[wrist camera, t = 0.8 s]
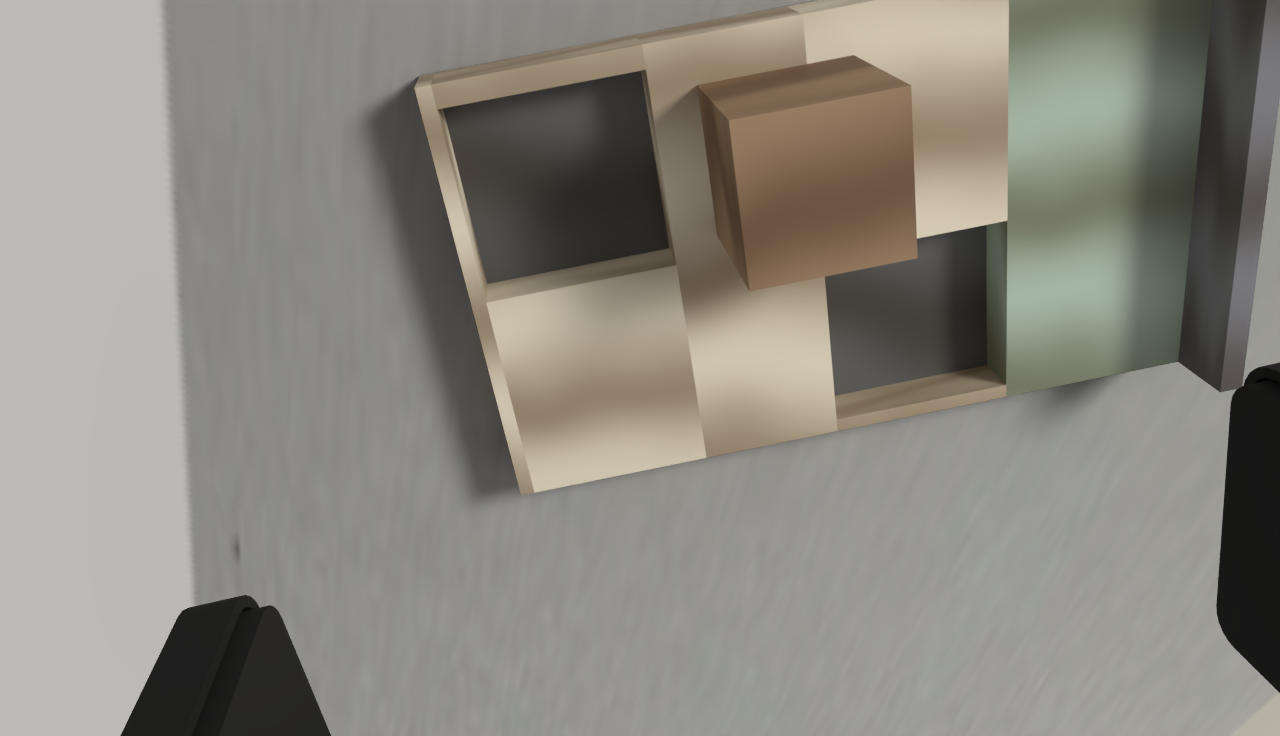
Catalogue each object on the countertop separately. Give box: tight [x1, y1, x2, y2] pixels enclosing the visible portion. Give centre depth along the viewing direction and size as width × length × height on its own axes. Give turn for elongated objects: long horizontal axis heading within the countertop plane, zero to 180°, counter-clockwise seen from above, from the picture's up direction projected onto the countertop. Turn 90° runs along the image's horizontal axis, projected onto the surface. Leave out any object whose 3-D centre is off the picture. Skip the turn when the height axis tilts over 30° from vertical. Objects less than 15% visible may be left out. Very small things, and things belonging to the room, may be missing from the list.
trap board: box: [414, 0, 1280, 495], centre depth 34 cm, size 15×26×4 cm, turn 101°
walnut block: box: [697, 55, 918, 291], centre depth 30 cm, size 5×5×5 cm
